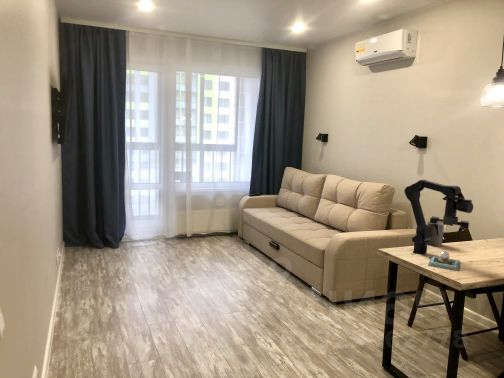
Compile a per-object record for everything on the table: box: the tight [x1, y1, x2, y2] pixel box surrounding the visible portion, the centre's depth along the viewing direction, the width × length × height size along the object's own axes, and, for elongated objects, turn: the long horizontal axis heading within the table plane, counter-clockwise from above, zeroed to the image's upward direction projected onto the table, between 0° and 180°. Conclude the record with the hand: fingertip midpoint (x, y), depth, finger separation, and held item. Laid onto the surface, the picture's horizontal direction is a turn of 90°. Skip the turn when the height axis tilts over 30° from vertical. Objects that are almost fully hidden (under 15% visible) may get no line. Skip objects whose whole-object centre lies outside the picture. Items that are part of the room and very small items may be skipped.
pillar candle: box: [426, 220, 445, 247], centre depth 254 cm, size 10×10×15 cm
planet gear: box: [436, 251, 452, 265], centre depth 215 cm, size 7×7×6 cm
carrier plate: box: [427, 255, 461, 272], centre depth 217 cm, size 14×18×3 cm
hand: (447, 237), depth 221 cm, fingers open, 9 cm apart
